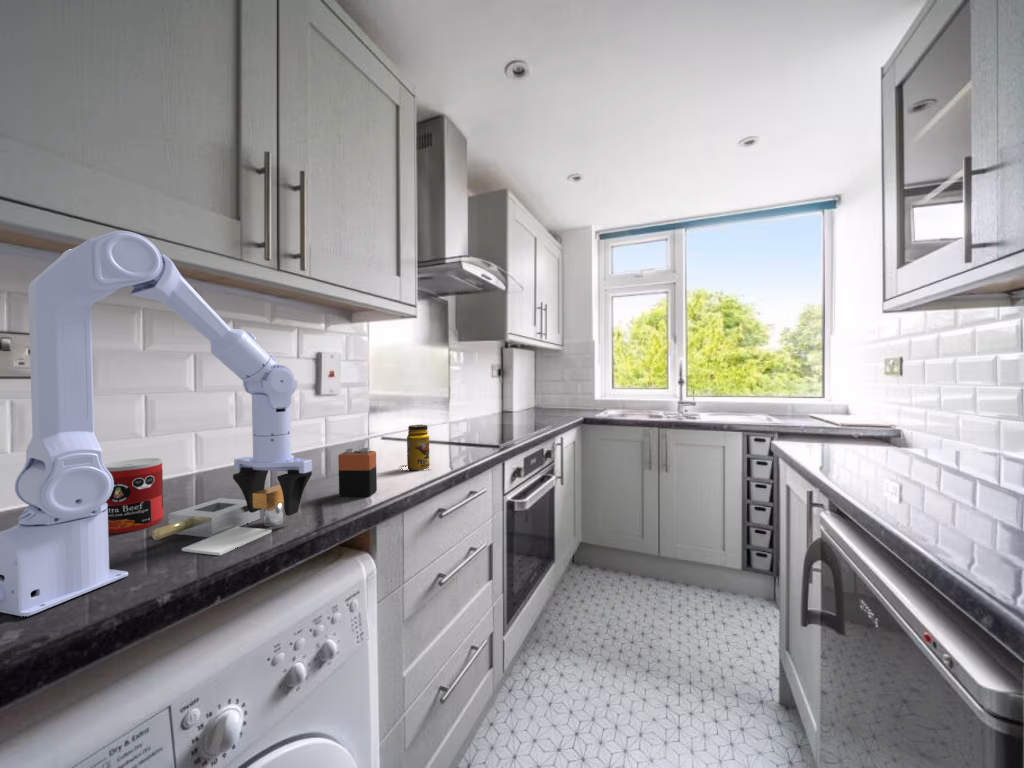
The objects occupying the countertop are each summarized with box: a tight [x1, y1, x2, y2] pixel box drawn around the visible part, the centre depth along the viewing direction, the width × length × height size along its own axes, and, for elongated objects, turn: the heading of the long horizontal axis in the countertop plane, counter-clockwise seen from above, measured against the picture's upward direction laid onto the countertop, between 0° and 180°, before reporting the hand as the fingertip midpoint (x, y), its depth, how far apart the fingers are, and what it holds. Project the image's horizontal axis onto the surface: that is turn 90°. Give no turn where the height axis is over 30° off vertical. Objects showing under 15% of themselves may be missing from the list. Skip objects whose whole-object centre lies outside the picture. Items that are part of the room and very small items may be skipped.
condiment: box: [398, 424, 432, 473], centre depth 113 cm, size 7×8×12 cm
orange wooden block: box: [253, 484, 284, 527], centre depth 71 cm, size 6×3×6 cm, turn 166°
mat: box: [181, 526, 273, 556], centre depth 63 cm, size 9×7×1 cm
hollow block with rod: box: [151, 497, 261, 541], centre depth 68 cm, size 14×9×3 cm, turn 166°
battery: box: [337, 447, 378, 498], centre depth 88 cm, size 4×7×10 cm, turn 87°
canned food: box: [104, 457, 164, 534], centre depth 71 cm, size 8×8×11 cm
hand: (273, 512), depth 71 cm, fingers open, 7 cm apart
